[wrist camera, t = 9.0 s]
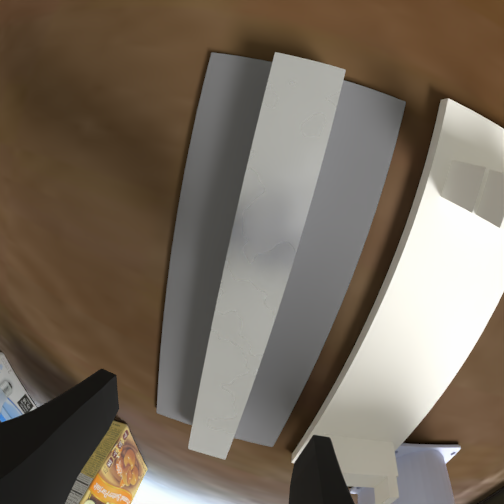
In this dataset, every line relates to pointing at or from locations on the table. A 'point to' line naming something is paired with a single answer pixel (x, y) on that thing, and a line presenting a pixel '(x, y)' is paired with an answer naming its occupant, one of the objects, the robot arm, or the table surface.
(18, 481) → the robot arm
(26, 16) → the table surface
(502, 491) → the diary
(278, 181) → the rail
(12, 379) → the light bulb box
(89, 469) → the candy box
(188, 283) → the rubber mat
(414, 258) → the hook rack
